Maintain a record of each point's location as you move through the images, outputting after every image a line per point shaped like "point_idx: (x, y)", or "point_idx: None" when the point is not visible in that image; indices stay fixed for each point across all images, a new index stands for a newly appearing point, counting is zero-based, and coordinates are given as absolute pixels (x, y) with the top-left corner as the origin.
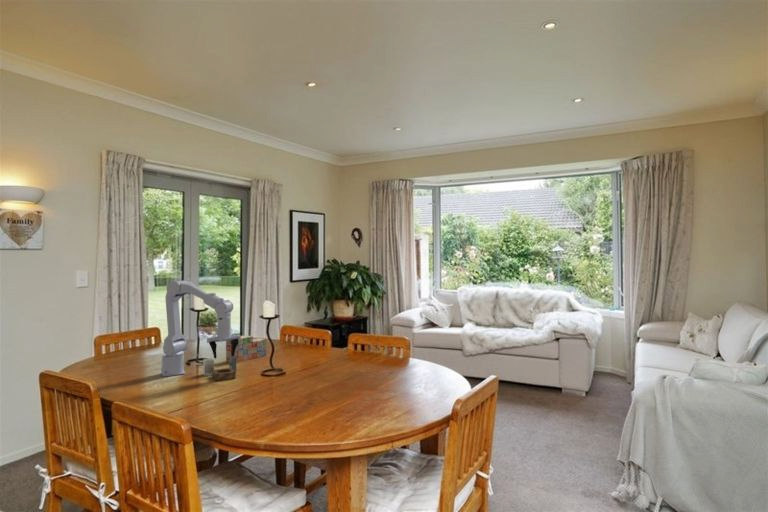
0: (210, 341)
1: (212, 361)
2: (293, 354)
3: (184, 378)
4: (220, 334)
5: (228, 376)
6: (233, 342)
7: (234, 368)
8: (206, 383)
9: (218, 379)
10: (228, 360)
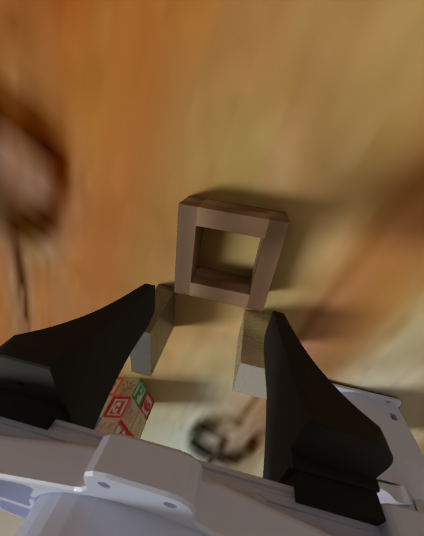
0: (369, 529)
1: (248, 358)
2: None
3: (358, 340)
4: None
5: (221, 205)
6: (65, 367)
7: (159, 296)
8: (342, 206)
9: (273, 212)
10: (147, 399)
